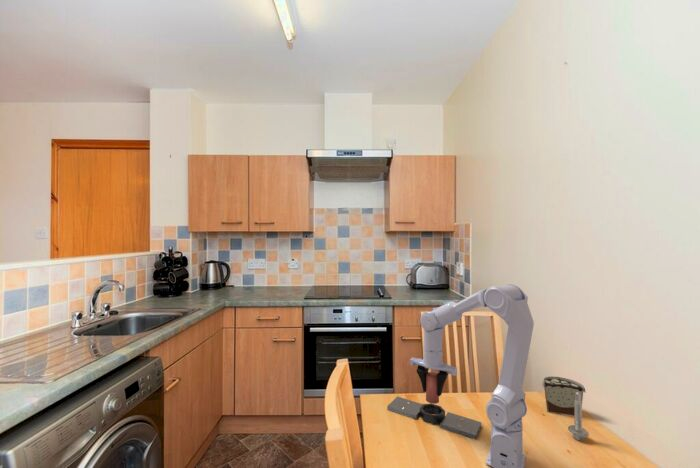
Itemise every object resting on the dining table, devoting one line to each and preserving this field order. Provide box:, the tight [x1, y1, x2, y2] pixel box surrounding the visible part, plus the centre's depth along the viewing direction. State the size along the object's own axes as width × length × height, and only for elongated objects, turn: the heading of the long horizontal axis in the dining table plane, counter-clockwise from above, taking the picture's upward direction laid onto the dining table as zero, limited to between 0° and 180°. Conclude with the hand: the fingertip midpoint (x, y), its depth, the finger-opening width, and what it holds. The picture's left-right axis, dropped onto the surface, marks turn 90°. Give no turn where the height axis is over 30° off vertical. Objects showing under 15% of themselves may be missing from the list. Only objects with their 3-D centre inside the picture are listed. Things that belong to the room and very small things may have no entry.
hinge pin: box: [425, 371, 440, 405], centre depth 98 cm, size 4×4×8 cm
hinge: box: [386, 396, 482, 440], centre depth 98 cm, size 8×28×2 cm, turn 57°
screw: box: [567, 392, 590, 442], centre depth 89 cm, size 13×5×5 cm
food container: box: [541, 376, 586, 417], centre depth 104 cm, size 12×6×10 cm, turn 74°
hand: (432, 392), depth 98 cm, fingers closed on hinge pin, 4 cm apart
